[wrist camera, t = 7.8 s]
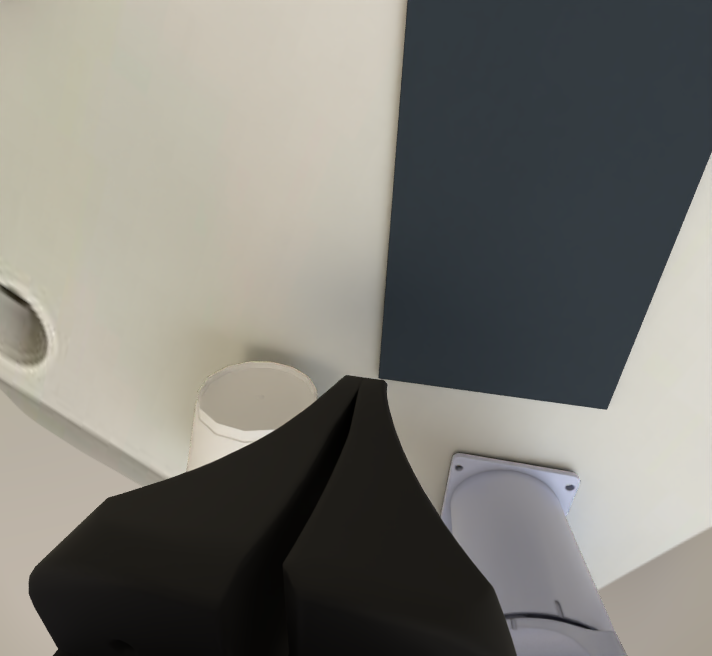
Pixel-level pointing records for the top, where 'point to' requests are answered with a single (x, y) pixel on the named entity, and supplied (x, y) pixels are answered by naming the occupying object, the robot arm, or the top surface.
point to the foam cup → (245, 407)
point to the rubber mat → (540, 188)
